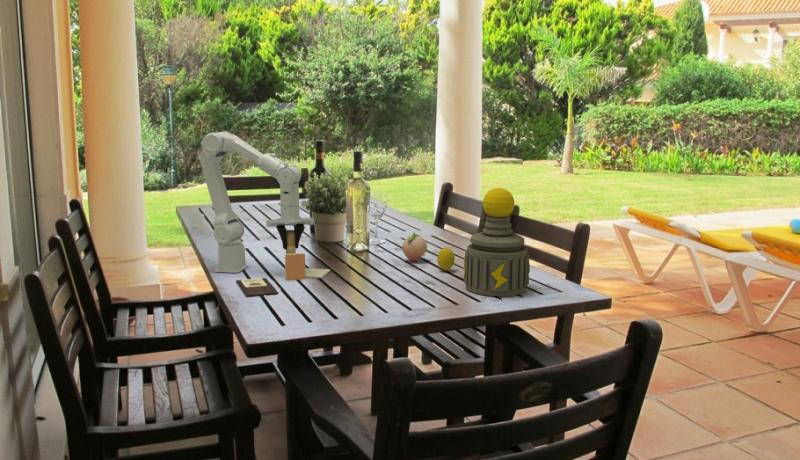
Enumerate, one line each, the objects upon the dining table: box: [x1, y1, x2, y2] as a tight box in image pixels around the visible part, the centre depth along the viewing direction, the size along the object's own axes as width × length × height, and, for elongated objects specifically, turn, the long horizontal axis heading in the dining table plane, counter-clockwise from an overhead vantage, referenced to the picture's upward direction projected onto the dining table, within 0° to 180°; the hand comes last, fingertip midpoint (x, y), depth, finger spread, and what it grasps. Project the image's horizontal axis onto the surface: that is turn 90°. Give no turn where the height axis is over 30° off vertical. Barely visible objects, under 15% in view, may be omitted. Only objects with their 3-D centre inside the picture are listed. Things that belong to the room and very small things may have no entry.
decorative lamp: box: [463, 187, 531, 298], centre depth 214 cm, size 19×19×30 cm
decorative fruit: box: [401, 232, 428, 262], centre depth 251 cm, size 9×8×10 cm
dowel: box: [285, 229, 297, 254], centre depth 230 cm, size 3×3×8 cm
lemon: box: [436, 246, 455, 272], centre depth 237 cm, size 6×6×8 cm
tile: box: [284, 252, 306, 281], centre depth 225 cm, size 1×6×8 cm, turn 110°
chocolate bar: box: [235, 277, 279, 298], centre depth 216 cm, size 9×1×18 cm
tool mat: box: [305, 267, 331, 279], centre depth 233 cm, size 10×9×1 cm
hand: (290, 248), depth 230 cm, fingers closed on dowel, 3 cm apart
